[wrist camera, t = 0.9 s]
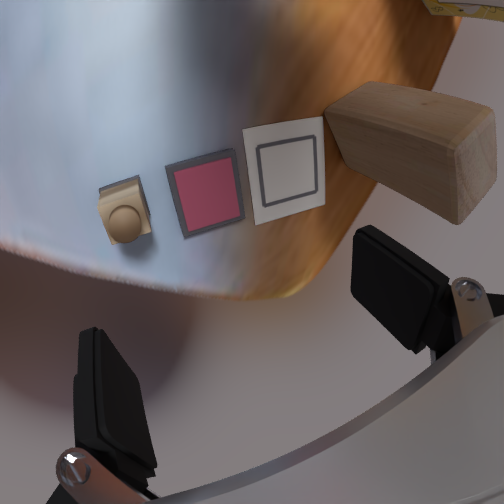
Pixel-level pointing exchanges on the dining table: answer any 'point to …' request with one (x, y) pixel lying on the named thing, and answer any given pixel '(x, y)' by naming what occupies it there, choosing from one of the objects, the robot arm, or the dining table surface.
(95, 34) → the dining table surface
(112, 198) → the stamp
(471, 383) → the robot arm
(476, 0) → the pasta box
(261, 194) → the paper sheet
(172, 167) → the ink pad
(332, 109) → the wooden block
